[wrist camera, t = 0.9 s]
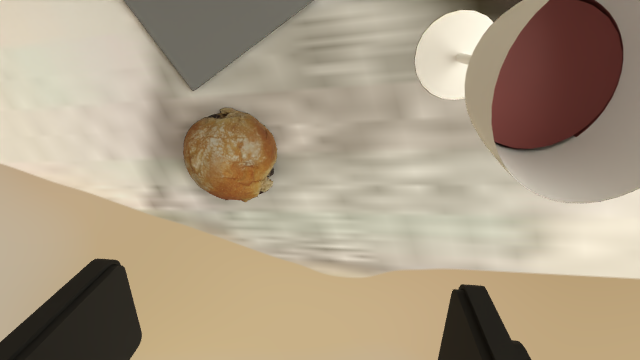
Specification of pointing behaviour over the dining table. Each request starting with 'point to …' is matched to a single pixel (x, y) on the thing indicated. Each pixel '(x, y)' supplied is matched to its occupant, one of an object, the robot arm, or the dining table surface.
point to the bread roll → (230, 155)
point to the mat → (210, 30)
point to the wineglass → (547, 91)
